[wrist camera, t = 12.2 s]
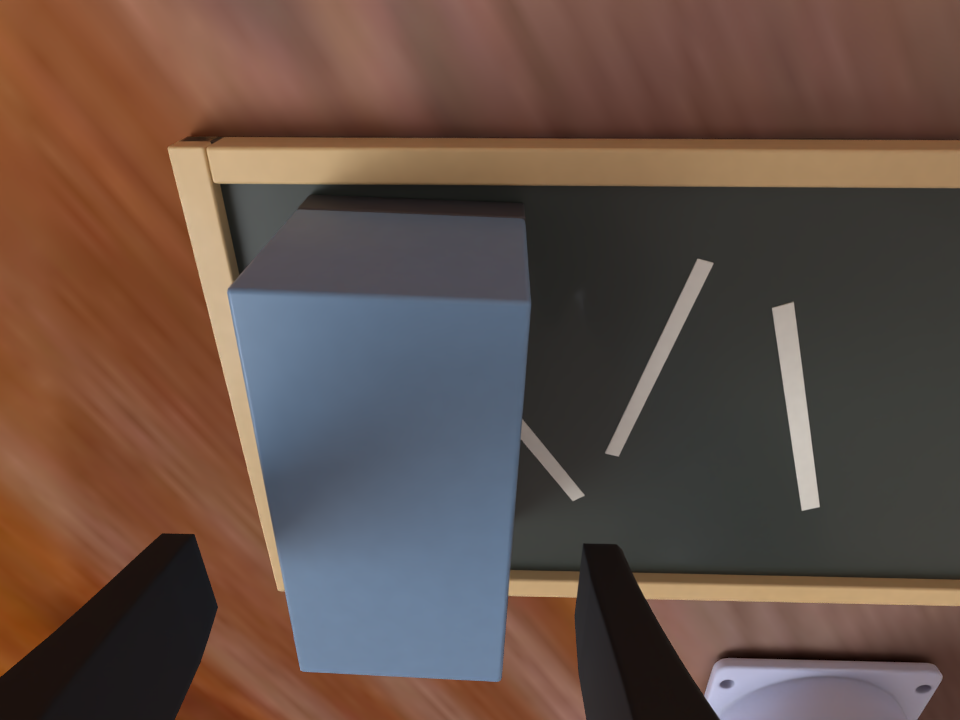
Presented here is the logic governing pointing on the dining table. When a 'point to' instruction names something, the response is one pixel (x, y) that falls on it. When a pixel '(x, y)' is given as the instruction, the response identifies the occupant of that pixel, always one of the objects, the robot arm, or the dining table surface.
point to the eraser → (390, 426)
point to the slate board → (682, 347)
